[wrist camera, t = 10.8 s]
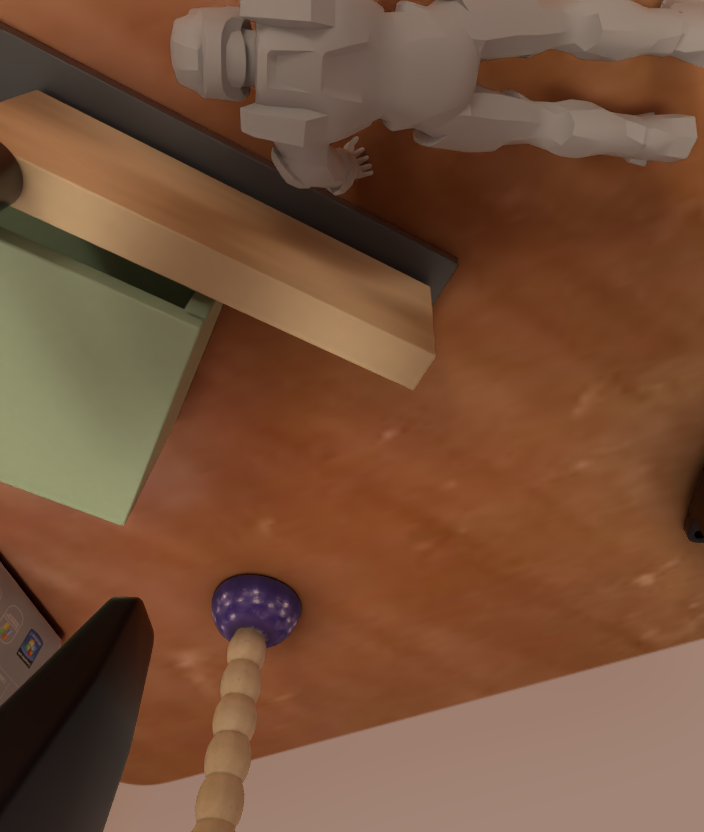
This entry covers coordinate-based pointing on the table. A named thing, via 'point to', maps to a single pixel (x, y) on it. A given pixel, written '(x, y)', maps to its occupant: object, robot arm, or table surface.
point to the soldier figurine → (426, 76)
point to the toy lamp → (240, 689)
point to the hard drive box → (21, 637)
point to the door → (211, 238)
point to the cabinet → (127, 302)
